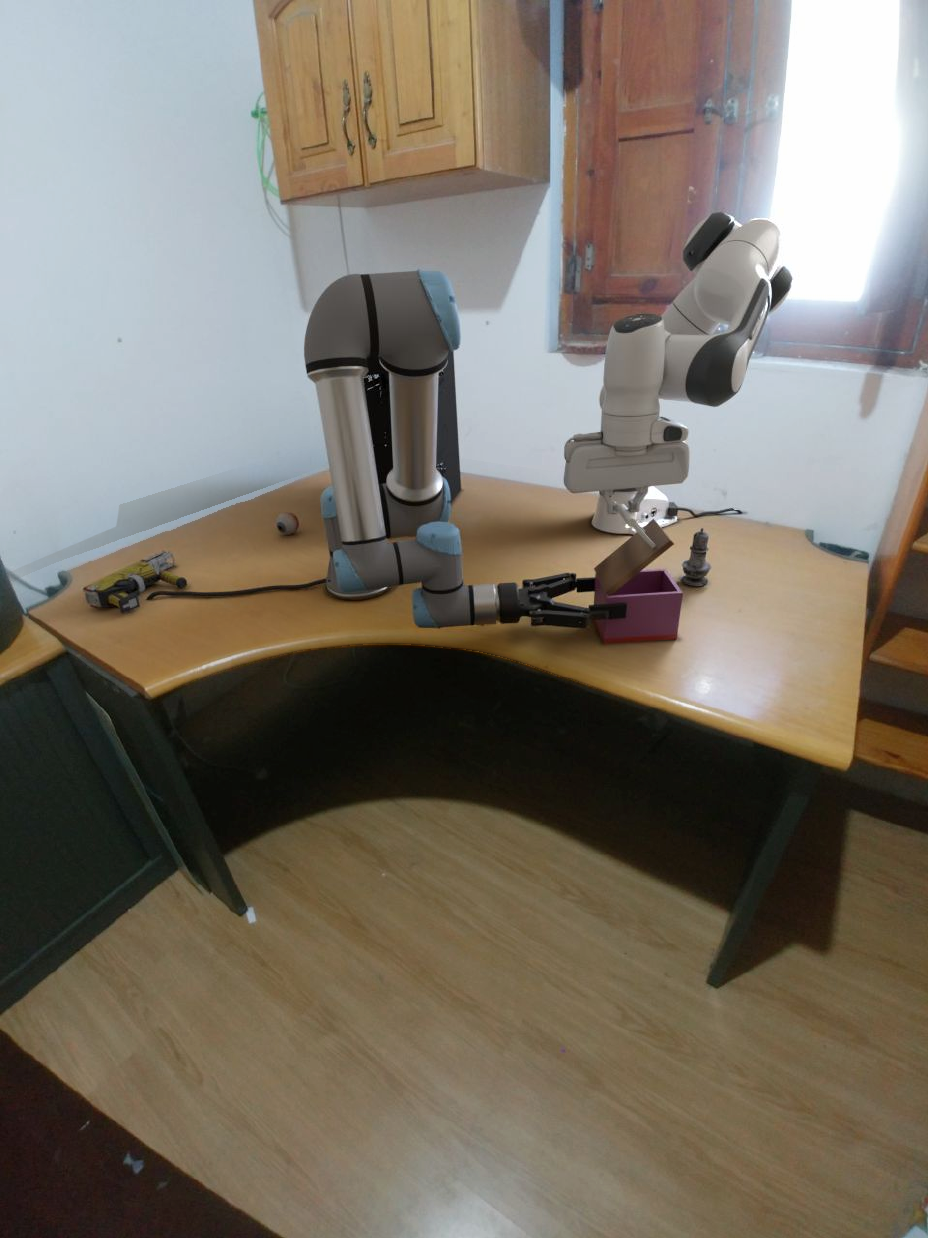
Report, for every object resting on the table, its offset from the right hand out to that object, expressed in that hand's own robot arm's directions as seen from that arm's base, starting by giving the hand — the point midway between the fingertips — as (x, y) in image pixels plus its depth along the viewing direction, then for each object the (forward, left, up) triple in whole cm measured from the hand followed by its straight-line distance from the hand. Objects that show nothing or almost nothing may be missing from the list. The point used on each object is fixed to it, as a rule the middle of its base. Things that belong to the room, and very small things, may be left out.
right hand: (622, 512), depth 103 cm
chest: (-3, +2, -23) cm, 23 cm away
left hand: (0, 0, -16) cm, 16 cm away
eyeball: (+46, -83, -23) cm, 98 cm away
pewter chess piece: (-27, -7, -23) cm, 36 cm away
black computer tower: (+9, -83, -23) cm, 87 cm away
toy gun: (+80, -65, -23) cm, 106 cm away
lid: (-2, +1, -9) cm, 9 cm away
